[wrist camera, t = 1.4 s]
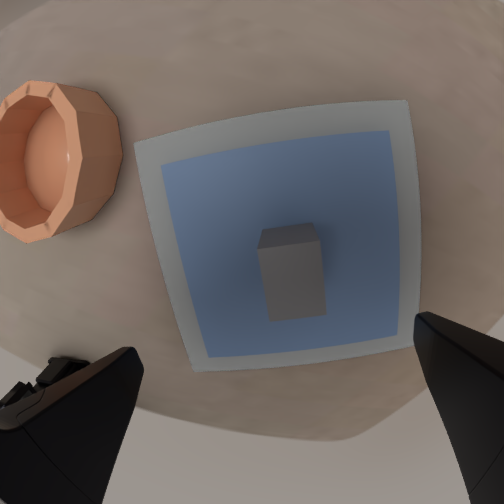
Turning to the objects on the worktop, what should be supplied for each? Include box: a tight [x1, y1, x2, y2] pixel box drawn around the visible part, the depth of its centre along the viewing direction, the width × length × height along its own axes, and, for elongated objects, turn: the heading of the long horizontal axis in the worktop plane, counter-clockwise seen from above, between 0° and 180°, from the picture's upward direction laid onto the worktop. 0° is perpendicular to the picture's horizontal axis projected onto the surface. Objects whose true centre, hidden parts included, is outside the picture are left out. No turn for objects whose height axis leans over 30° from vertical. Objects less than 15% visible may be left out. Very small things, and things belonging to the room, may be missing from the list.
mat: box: [133, 100, 421, 372], centre depth 20 cm, size 18×18×1 cm
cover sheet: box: [161, 130, 400, 358], centre depth 17 cm, size 14×14×5 cm
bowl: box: [0, 80, 123, 243], centre depth 17 cm, size 11×11×5 cm
